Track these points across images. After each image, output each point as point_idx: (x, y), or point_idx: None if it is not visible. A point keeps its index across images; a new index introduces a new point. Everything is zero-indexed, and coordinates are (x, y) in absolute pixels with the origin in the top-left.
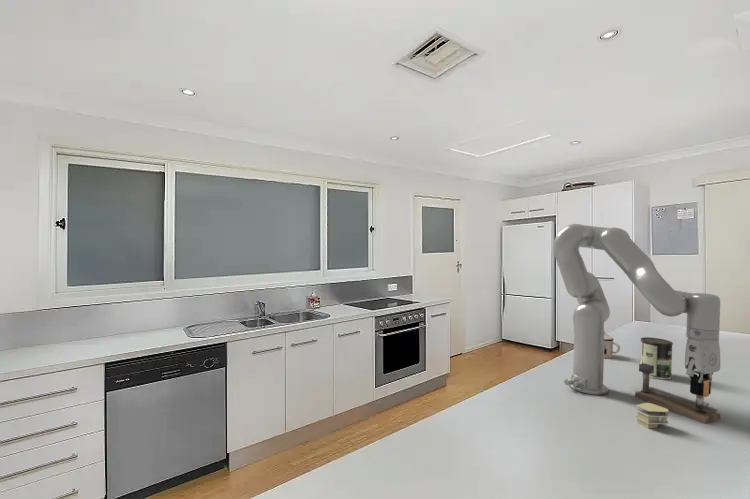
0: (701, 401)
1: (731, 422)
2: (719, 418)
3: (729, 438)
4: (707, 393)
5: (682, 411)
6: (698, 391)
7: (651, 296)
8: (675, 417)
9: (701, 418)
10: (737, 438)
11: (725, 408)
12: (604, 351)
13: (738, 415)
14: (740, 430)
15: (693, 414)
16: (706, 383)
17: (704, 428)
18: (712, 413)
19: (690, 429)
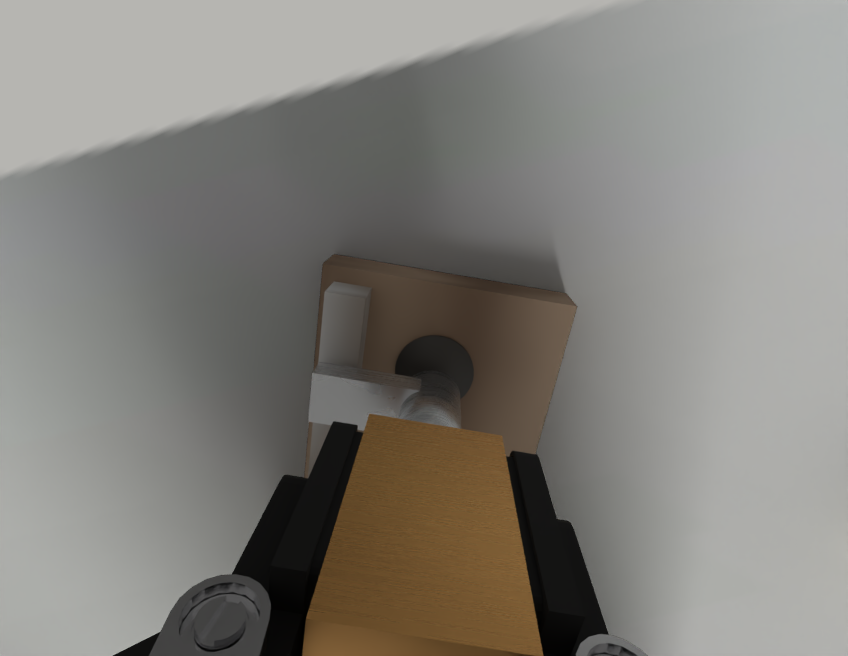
0: (452, 420)
1: (326, 176)
2: (345, 257)
3: (760, 73)
4: (398, 442)
5: (531, 453)
6: (560, 524)
7: None
8: (631, 448)
9: (566, 328)
10: (698, 29)
11: (32, 299)
12: None
13: (85, 190)
14: (457, 72)
15: (551, 388)
16: (430, 577)
17: (688, 264)
18: (379, 306)
19: (809, 319)
